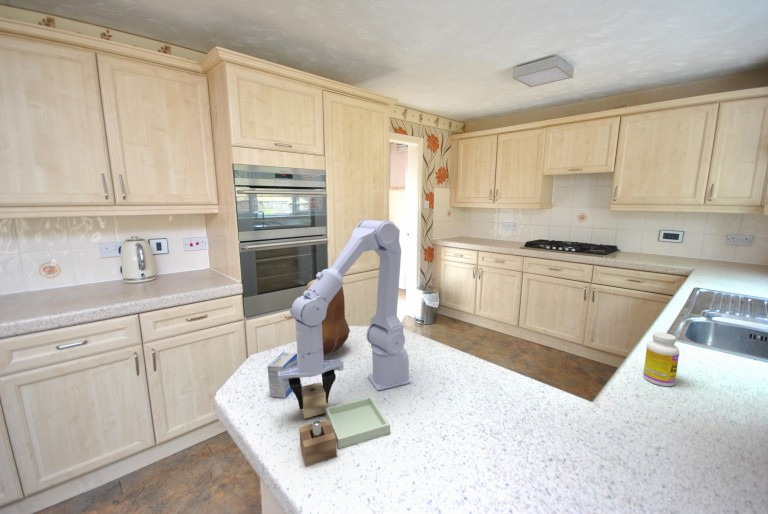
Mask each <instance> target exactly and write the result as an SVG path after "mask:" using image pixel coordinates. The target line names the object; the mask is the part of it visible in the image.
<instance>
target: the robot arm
mask: <svg viewBox="0 0 768 514" xmlns="http://www.w3.org/2000/svg"><path fill="white" fill-rule="evenodd" d="M400 232H401V231H400V228H398V226H397V225H396V224H395V223H394V222H393V221H391V220H375V219H363V220H361V221H360V222H359V223H358V224H357V226H356V227H355V228H354V229H353V230H352V234H351V237H350V239H349V240H348V242H347V243H346V245H345V246H344V248H343V249H342V250H341V252H340V254H339V255H338V256H337V258H336V260H335V261H334V262H333V264H332V265H331V267H330V268H325V269H323V270H322V271H318V272H317V274H316V275H315V277H316V278H315V279H314V280H315V281H314V282H313V283H312V285H311V286H310V287H309V289H308V290H307V291H306V289H305V290H304V292H303V293H302V294H303V295H301V296H297V298H296V299H295V300H294V301H293V302H292V305H291V308H290V309H289V313H290V315H291V317H292V318H293V319H294V320H295V321H294V322H295V335H296V336H295V337H296V340H295V341H296V351H297V352H296V353H297V358H298V365H297V366H294V367H292V368H289V369H286V370H283V371H279V372H278V381H279V384H281V383H284V381H289V385H290V388H291V389H292V391H291V392H293V394H294V396H295V397H296V399H297V402H298V407H299V410H302V409H303V401H302V386H303V385H302V383H301V378H312V377H317V376H319V375H321V383H322V386H323V388H324V390H325V393H326V404H327V403H328V402H329V401H328V400H329V396H330V392H331V389H332V387H333V385H334V383H335V381H336V378H337V375H336V373H335V372H336V371H339V372H340V371H341V372H342V371H344V362H343V360H342V359H341V358H340V359H339V358H338V359H328V360H327V359H326V360H325V359H324V353H323V338H322V321H323V320H324V319H325V317H326V313H327V307H328V304H329V303H330V301H331V300H332V299H333V297H334V296H335V295H336V293H337V292H338V291H339V289H340V288H341V287H342V286H343V285H344V276H345V274H346V273H348V271H349V270H350V269H351V267H352V266H353V265H354V264H355V263H356V262H357V261H358V259H359V258H360V257H361V255H363V254H364V253H365V252H369V251H374V252H375V253H376V254H377V255H378V256H379V263H378V264H379V267H378V280H377V281H378V282H377V296H376V309H375V310H376V312H375V315H374V316H372V317H371V318H370V320H369V326H368V329H367V330H366V340H367V341H368V343H370V348H371V351H372V352H371V353H372V373H370V374H368V375H367V378H368V379H369V381H370V382H371V383H372V384H373V386H374V387H375V389H376V390H377V391H382V390H386V389H391V388H394V387H399V386H403V385H406V384H410V383H411V381H410V379H409V378H410V377H409V375H410V373H409V371H410V369H409V366H410V365H409V363H410V361H409V355H408V351H407V349H406V348H405V347H404V346H405V343H406V337H405V334H404V325H403V323H402V322H401V320H400V319H399V317H398V302H399V289H400V287H399V286H400V275H401V274H400V273H401V272H400V271H401V261H402V260H401V259H402V247H401V243H400Z"/></svg>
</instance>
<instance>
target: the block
mask: <svg viewBox="0 0 768 514" xmlns="http://www.w3.org/2000/svg"><path fill="white" fill-rule="evenodd" d="M302 401H303V409H301V410H302V415H303V418H304V419H307V418H312V417H316V416H319V415H320V416H321V415H323V414H326V408H327V403H326V393H325V390H324V388H323V384H322V381H319V382H315V383H311V384H306V385H302Z"/></svg>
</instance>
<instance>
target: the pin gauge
mask: <svg viewBox="0 0 768 514" xmlns="http://www.w3.org/2000/svg"><path fill="white" fill-rule="evenodd" d="M311 424H312V425H313V438H316V437H319V436H321V421H320V420H314V421H313V422H312V423H311Z"/></svg>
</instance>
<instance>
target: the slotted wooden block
mask: <svg viewBox="0 0 768 514" xmlns="http://www.w3.org/2000/svg"><path fill="white" fill-rule="evenodd" d="M320 422H321V436H319V437H316V438H313V425H312V424H313V423H310V424H306V425H303V426H299V428H298V429H299V444H300V445H299V446H300V449H301V451H300V452H301V454H302V458H303V463H304V466H305V467H309V466H311V465H315V464H317V463H321V462H325V461H328V460H331V459H334V458H336V457H337V456H338V455H337V454H338V453H337V452H338V451H337V443H336V437H335V434H334V432H333V429H332V427H331V424H330V422H329V420H327V419H326V420H322V421H320Z"/></svg>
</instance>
